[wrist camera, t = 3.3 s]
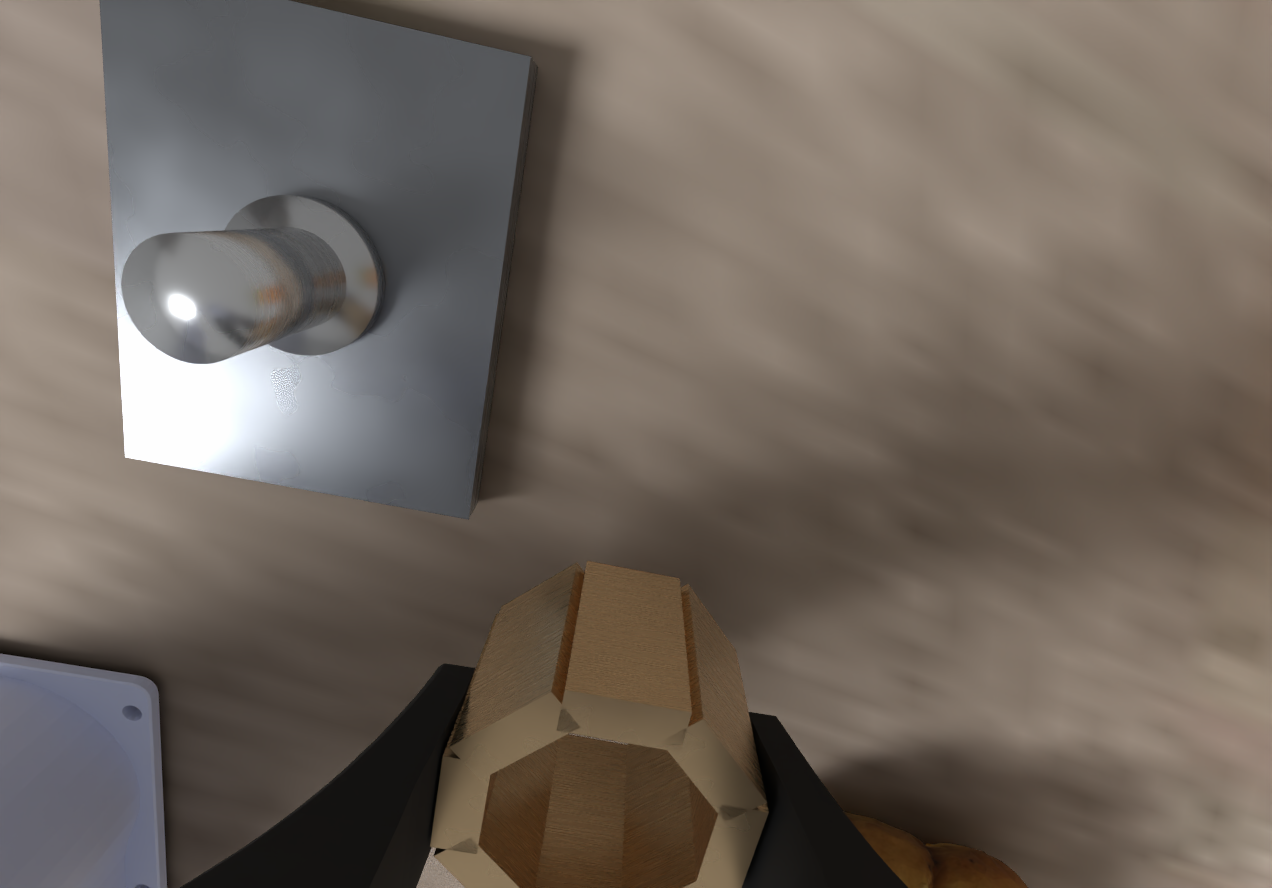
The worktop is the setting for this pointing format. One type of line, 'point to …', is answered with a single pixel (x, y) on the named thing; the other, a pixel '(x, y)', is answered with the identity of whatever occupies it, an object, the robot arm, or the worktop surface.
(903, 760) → the worktop surface
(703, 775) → the hub ring
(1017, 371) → the worktop surface
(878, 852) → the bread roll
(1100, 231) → the worktop surface
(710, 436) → the worktop surface
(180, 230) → the stub shaft
